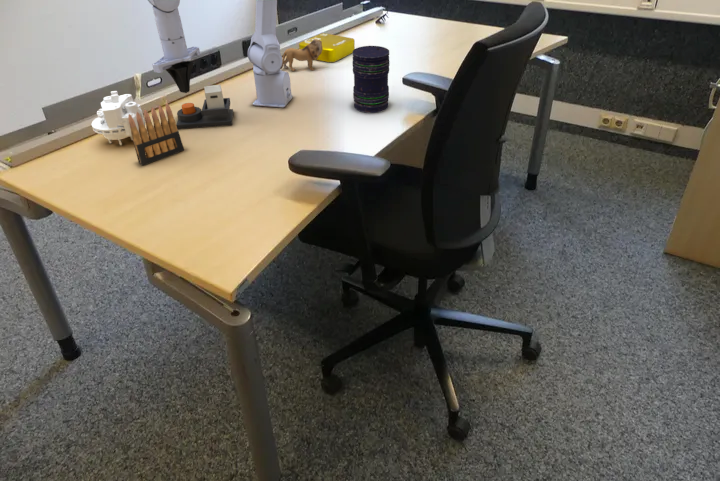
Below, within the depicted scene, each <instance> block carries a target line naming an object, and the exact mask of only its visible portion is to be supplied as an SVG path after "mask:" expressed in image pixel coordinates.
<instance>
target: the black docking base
mask: <svg viewBox="0 0 720 481" xmlns="http://www.w3.org/2000/svg"><path fill="white" fill-rule="evenodd" d="M195 111H196V112H195V113H193V114H183V110H182V108H180V109H179V110H177V112H176V115H177V120H176V126H177V130H183V129H198V128H199V129H200V128H212V127H226V126H227V127H228V126H232V125H233V120H234V113H235V112H234V109H233V108H230V109H229V114H223V115H209V116H203V114H202V108H200V107H199V106H195Z"/></svg>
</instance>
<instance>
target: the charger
mask: <svg viewBox="0 0 720 481" xmlns="http://www.w3.org/2000/svg"><path fill="white" fill-rule="evenodd" d="M203 88H204V97H205V99H206V102H207V107H208V109H218V108H225V106H224V100H223V98H224V95H223V90H222V85H221V84H214V85H212V84H211V85H204V86H203Z"/></svg>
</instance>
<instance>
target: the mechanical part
mask: <svg viewBox="0 0 720 481" xmlns="http://www.w3.org/2000/svg"><path fill="white" fill-rule="evenodd" d="M133 98H134V97H133V95H132V94H131V93H125V94H121V95H119V92H118V90H112V91H110V95H107V96H104V97H103V98H102V99H103V100H102V101H101V102H100V108H99V109H98V110H97V111H96V115H97V117H96V118H94V119H93V120H92V121H91V128H92V130H93V132H94V133H96V134H99V135H103V137H104V139H106V140H107V141H108V143H109V144H112V143H113V142H112V141H116V140H117V141H118V144H119V146H122V145H123V142H122V140H124V139H127V138H129V137H130V140H131V141H133V138H132V135H131V129H130V125H129V119H128V116H129V114H130V115H131V116H132V118H133V120H134V122H135V125H136V127H137V130H138V132H139V127H138V123H137V118H136V113H137V112H138V113H139V114H140V116H141V118H142V120H143V123H144V126H145V127H146V122H145V118H144V111H143V110H142V106H141V104H140V103H137V102H136V101H134V99H133ZM139 134H140V133H139Z"/></svg>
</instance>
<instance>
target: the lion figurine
mask: <svg viewBox="0 0 720 481" xmlns="http://www.w3.org/2000/svg"><path fill="white" fill-rule="evenodd" d="M322 49H323V48H322V41H320V40H318V39H314V40H313V41H311V43H310V44H308V45H307V46H305V47H304V48H303V49H299V48H294V47H290V48H287V49H285V50H284V52H283V55H282V66H281V68H280V70H282V69H288V68H289V69H290V70H291V72H296V69H295V68H293V62H294V59H295V60H296V61H299V62H306V63H307V67H308V69H309V70H310V71H315V67H313V65H314V64H313V63H314V61H317V60H316V59H317V58H318V56H319V55H320V54H321V53H322ZM287 64H288V65H287Z"/></svg>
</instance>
